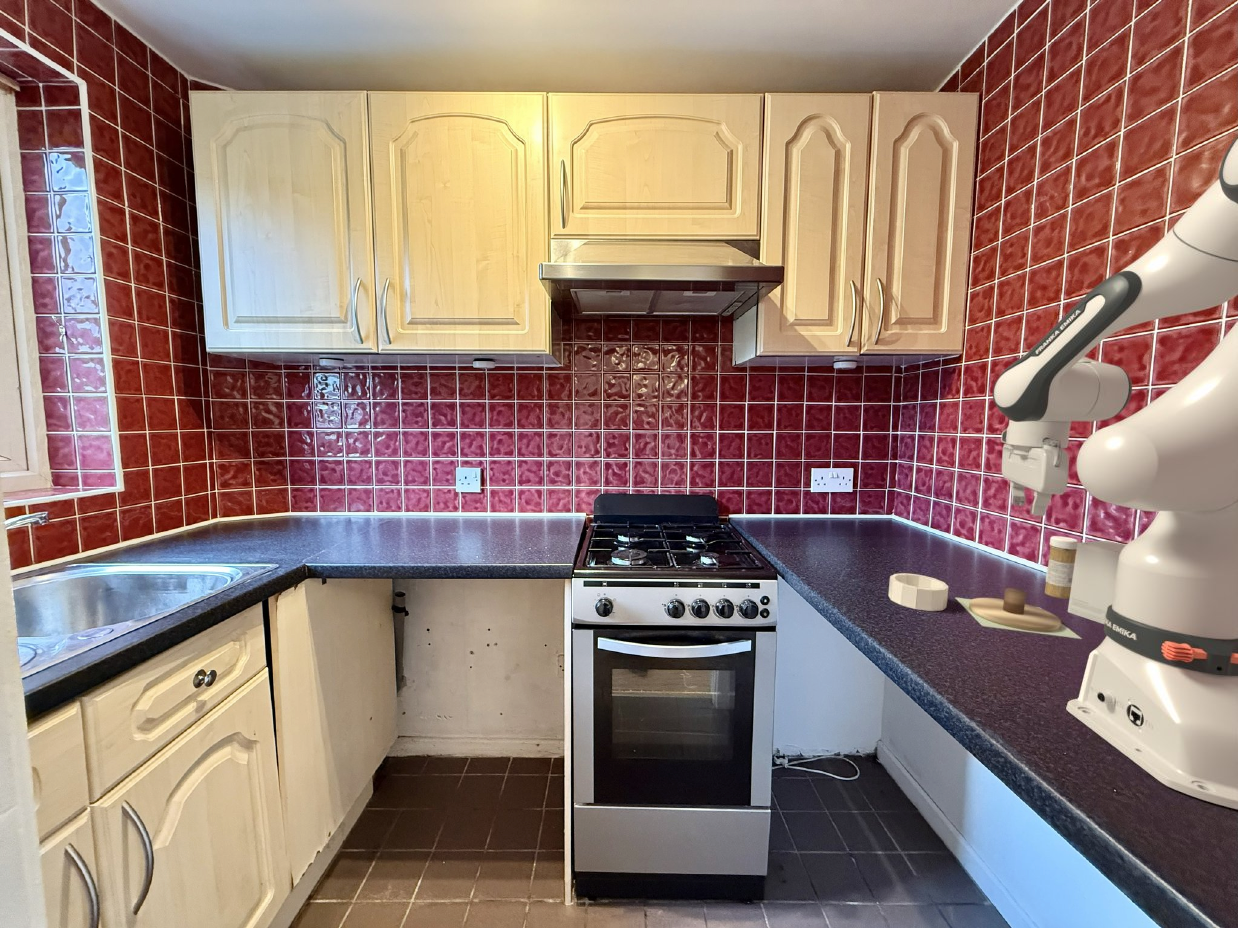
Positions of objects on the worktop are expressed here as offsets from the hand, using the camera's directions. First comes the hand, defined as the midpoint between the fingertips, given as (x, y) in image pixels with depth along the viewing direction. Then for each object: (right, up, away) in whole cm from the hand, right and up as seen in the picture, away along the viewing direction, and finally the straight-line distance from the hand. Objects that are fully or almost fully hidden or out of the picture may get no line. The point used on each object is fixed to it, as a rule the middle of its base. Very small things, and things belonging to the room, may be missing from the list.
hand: (1027, 509), depth 96 cm
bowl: (-16, -20, +9) cm, 27 cm away
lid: (-1, -21, +2) cm, 21 cm away
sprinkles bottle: (+19, -21, +15) cm, 32 cm away
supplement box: (+18, -22, +3) cm, 29 cm away
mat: (-1, -22, +2) cm, 22 cm away
